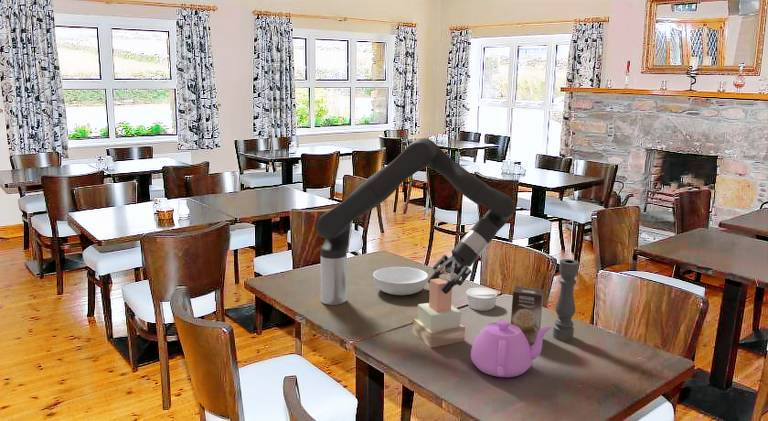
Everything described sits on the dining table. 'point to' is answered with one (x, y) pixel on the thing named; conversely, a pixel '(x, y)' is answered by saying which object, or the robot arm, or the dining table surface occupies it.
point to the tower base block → (438, 334)
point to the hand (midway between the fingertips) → (436, 287)
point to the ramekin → (481, 298)
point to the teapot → (505, 349)
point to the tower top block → (438, 317)
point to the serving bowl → (400, 280)
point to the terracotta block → (439, 295)
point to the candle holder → (566, 300)
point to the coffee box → (527, 311)
